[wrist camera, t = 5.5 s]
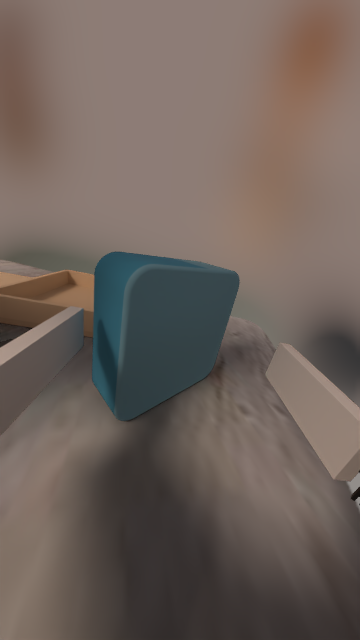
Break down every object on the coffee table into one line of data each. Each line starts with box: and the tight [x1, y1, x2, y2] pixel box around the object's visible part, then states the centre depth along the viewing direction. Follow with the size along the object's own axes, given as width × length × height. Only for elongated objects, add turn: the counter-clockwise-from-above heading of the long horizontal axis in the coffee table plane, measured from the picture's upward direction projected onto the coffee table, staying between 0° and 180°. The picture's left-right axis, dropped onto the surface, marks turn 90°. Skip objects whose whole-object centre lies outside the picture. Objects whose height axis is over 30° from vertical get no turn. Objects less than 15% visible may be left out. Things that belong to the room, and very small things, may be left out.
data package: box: [92, 252, 239, 421], centre depth 17 cm, size 12×4×12 cm, turn 133°
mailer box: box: [0, 270, 94, 337], centre depth 31 cm, size 34×19×4 cm, turn 90°
